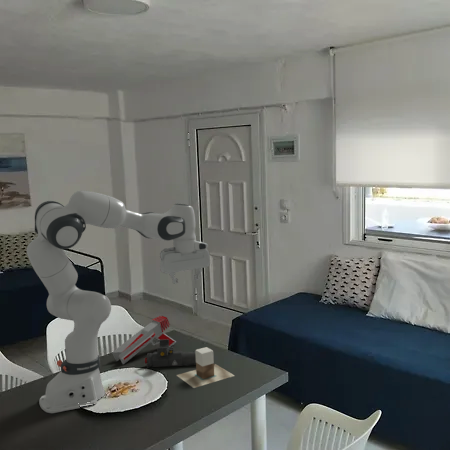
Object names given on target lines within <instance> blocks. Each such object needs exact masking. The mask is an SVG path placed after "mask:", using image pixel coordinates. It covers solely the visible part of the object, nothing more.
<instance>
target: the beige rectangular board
mask: <svg viewBox="0 0 450 450" xmlns="http://www.w3.org/2000/svg"><path fill="white" fill-rule="evenodd" d="M176 377H178V378H179V379H180V380H182V381H183V382H185V383H186V384H188V385H189V386H190V387H192V388H193V389H195V388H198V387H202V386H205V385H208V384H212V383H215V382H218V381H222V380H225V379H228V378H232V377H235V375H234V374H233V373H231V372H230V371H228V370H226V369H224V368H223V367H222V366H220V365H218V364H216V363H214V376H212V377H209V378H205V379H202V378H201V377H199V376H198V375H197V374H196V369H194V370H189V371H186V372H182V373H179V374H176Z"/></svg>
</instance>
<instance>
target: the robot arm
mask: <svg viewBox="0 0 450 450" xmlns="http://www.w3.org/2000/svg"><path fill="white" fill-rule="evenodd" d="M86 225H91V226H95V227H99V228H103V229H118V228H120V227H124V228H128V229H131V230H134V231H136V232H137V233H139V235H141V236H142V237H144V238H145V239H150V240H151V239H153V240H160V241H164V242H165V241H167V242H168V241H172V247H169V248H163V249H162V250H161V251H160V253H159V255H160V256H159V257H160V258H159V259H160V263H159V264H160V265H159V270H160V271H161V273H162V274H166V275H167V274H169V276H170V278H171V279H172V284H175V285H176V284H179V282H178V281H179V279H178V278H176V277H175V276H176V273H178V272H185V271H191V270H192V271H193V270H196V273H195V274H194V275H193V277H194V278H193V280H195V281H199V280H200V279H201V276H200V275H201V274H202V271H203V268H209V266H210V265H211V255H210V251H209V250H208V249H209V245H208V243H206V242H204V241H200V240H197V237H196V235H197V234H196V227H197V226H196V225H197V224H196V214H195V210H194V207H193V206H192V205H190V204H186V203H185V204H184V203H174V204H173V205H172V207H171V208H170V209H168V210H167V211H165V212H163V213H157V212H152V211H149V212H147V211H146V212H143V213H139V212H135V211H132V210H128V209H127V208H126V205H125V203H124V202H123V201H122V200H120V199H118V198H116V197H114V196H112V195H108V194H104V193H101V192H96V191H89V190H77V191H76V192H74V193H73V194H72V195H71V196H70V198H69V201H68V203H67V204H66V205H63V203H60V202H58V201H56V200H55V201H54V200H46V201H44V202H41V203H40V204H39V205H38V206H37V207H36V209H35V213H34V232H35V233H36V234H37V236H36V237H35V238H34V239H32V240H31V241H30V242H29V243H28V244H27V246H26V247H27V248H26V254H27V255H26V256H27V257H28V260H29V263H30V264H31V266H32V269H33V270H34V272H35V273H36V275H37V277H39V279H40V281H41V282H42V284H43V285H44V287H45V289H46V290H47V292H48V297H47V299H46V308H47V311H48V313H50V315H52V316H55V317H56V318H58V319H62V320H66V321H67V320H68V321H73V324H74V325H73V330H72V331H71V332H69V334H67V335H66V337H65V338H64V348H65V360H64V361H62V360H61V359H58V360H57V362H56V365H57V367H59V368H60V371H59V372H58V373H57V375H55V376H54V377H53V378H52V379H51V380H50V381H48V383H47V385H46V387H45V394H44V395H41V397H40V398H39V401H38V402H39V403H38V404H39V406H40V408H41V410H43V411H44V412H45V413H48V414H56V413H61V412H65V411H70V410H75V409H81V408H80V407H79V406H80V405H86V404H94V403H96V402H98V401H99V400H100V399H102V398H103V397H104V396H105V394H106V392H105V388H104V385H103V382H102V377H101V372H100V371H101V359H100V355H99V350H98V348H99V347H98V334H99V330H100V328H101V325H102V324H103V323H104V322H105V321H106V320H107V319H108V318H109V316H110V314H111V312H112V311H111V310H112V303H111V300H110V299H109V297H108V296H107V295H104V294H102V293H101V292H97V291H91V290H84V289H81V288H79V287H77V285H76V284H77V281H78V279H79V278H78V277H79V276H78V275H79V274H78V272H77V270H76V268H75V267H74V265H73V263H72V262H71V260H70V258H69V257H68V256H67V254H66V252H65V251H64V250H68V249H71V248H73V247H75V246H76V245H77V244H78V242H79V241H80V239H81V238H82V235H83V234H84V232H85V231H86V229H87V227H86ZM101 397H102V398H101ZM98 399H99V400H98ZM97 400H98V401H97ZM87 402H90V403H87ZM78 403H79V404H78ZM96 404H97V403H96Z"/></svg>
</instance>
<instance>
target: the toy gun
mask: <svg viewBox="0 0 450 450" xmlns="http://www.w3.org/2000/svg"><path fill="white" fill-rule="evenodd" d="M151 320H152V321H150V322H149V323H148V324H147V325H146V326H144V327H142V329H140V330H139V331H137V332H136V333H135V334H133V336H131V337H130V338H129V339H127V340H126V341H125V342H124V343H122V344H121V345H120V346H119V347H117V348H116V349H114V350H113V351H112V352H111V354H112V356H113V358H114V360H115V362H118V361H119V360H120V361H121V364H122V365H125V364H126V363H127V362H128V361H130V360H131V359H132V358H133V357H135V355H137V354H138V353H140V351H142V350H143V349H144V348H146V347H147V346H148V345H152V346H155V345H160V340H164V339H169V348H170V347H173V346H174V345H175V344H176V343H177V341H176V340H175V339H173V338H172V337H171V336H168V335H167V334H166V333H165V332H164V331H166V330H167V329H168V328H170V325H171V323H170V321H169V319H168V317H167V316H163V315H159V316H158V317H155V318H152V319H151ZM154 339H155V341H154Z"/></svg>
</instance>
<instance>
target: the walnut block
mask: <svg viewBox="0 0 450 450" xmlns="http://www.w3.org/2000/svg"><path fill="white" fill-rule="evenodd" d="M214 365H215V363H213V364H210V365H206V366H201V365H199V364H198V363H196V365H195V368H196V369H195V370H196V374H197V375H198V376H199V377H201V378H202V379H205V378H209V377H212V376H214Z"/></svg>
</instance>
